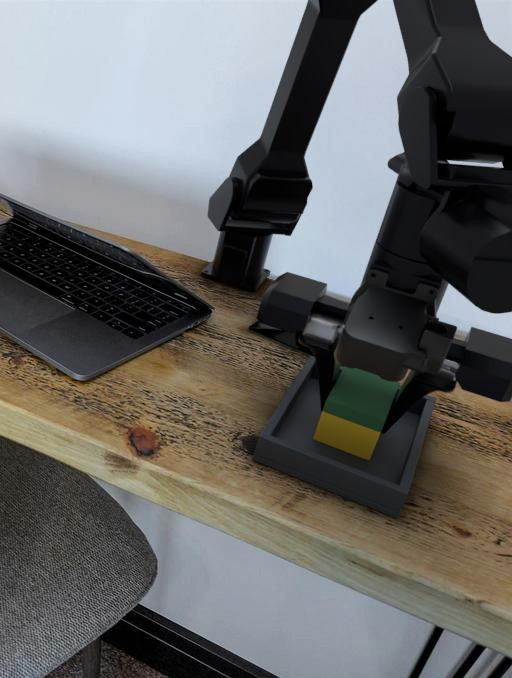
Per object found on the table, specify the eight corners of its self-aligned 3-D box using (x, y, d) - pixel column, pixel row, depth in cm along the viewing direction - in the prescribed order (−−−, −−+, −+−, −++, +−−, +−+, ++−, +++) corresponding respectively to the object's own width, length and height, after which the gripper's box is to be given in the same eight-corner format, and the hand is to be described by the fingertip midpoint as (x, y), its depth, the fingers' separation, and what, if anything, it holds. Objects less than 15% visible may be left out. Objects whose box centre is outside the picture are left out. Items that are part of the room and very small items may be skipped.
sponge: (332, 401, 72) (345, 363, 70) (385, 421, 71) (400, 382, 69) (312, 439, 67) (326, 399, 65) (369, 461, 65) (385, 420, 63)
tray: (302, 376, 77) (310, 355, 76) (427, 420, 72) (436, 398, 71) (251, 460, 65) (259, 435, 64) (396, 519, 60) (408, 494, 59)
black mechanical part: (246, 331, 84) (257, 290, 82) (276, 310, 89) (287, 271, 87) (366, 380, 78) (381, 337, 75) (391, 354, 83) (406, 313, 80)
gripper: (261, 245, 58) (213, 423, 66) (557, 330, 51) (463, 520, 58) (301, 205, 67) (254, 366, 75) (560, 272, 59) (477, 445, 67)
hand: (352, 420), depth 68 cm, fingers closed on sponge, 4 cm apart
